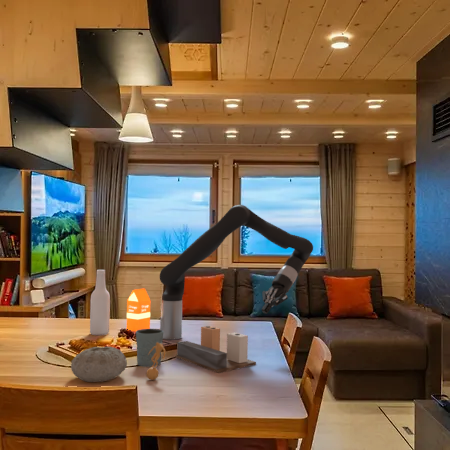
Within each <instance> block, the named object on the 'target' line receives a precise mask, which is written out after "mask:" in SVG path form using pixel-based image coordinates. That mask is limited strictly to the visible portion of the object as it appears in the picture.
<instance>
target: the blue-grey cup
mask: <svg viewBox="0 0 450 450" xmlns="http://www.w3.org/2000/svg"><path fill="white" fill-rule="evenodd" d="M135 339H136V353H137V355H136V361H137V365H138V366H140V367H144V368H145V367H147V368H150V367H152V365H153V364H154V363H153V362H152V360H151V358H152V357H153V356H154V353H156V348H154V349H153V350H152V351H151V352H150V350H151V349H152V348H153V347H154V346H156V343H157V342H158V343H160V344H163V340H164V339H163V330H160V329H159V328H150V329H140V330H137V331H136V332H135ZM149 352H150V353H149ZM148 354H149V355H148ZM154 361H155V359H154ZM157 362H158V365H157V367H158V366H160V365H161V363H162V351H161V352H160V357H159V359H158V360H157ZM155 366H156V362H155V365H154V367H155Z"/></svg>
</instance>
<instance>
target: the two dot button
mask: <svg viewBox="0 0 450 450" xmlns="http://www.w3.org/2000/svg"><path fill="white" fill-rule="evenodd" d="M220 344H221V328H219V327H215V326H211V325H206V326H201V327H200V345H202V346H205V347H208V348H212V349H215V350H218V351H221V349H220V348H221V345H220Z"/></svg>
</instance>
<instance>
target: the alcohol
mask: <svg viewBox="0 0 450 450" xmlns="http://www.w3.org/2000/svg"><path fill="white" fill-rule="evenodd" d="M89 309H90V311H89V312H90V314H89V315H90V316H89V317H90V319H89V334H90V335H92V336H106V335H108V334H109V332H110V317H111V315H110V313H111V312H110V311H111V310H110V309H111V296H110V292H109V291H108V290H107V287H106V269H97V270H96V279H95V288H94V290H93V291H92V293H91V295H90V308H89Z"/></svg>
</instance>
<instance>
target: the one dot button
mask: <svg viewBox="0 0 450 450" xmlns="http://www.w3.org/2000/svg"><path fill="white" fill-rule="evenodd" d="M248 338H249V336H248V335H246V334H243V333H239V332H231V333H226V353H227V359H228V360H231V361H234V362H237V363H243V362H247V359H248V355H249V354H248V352H249V351H248V349H249V347H248V345H249V343H248V342H249V341H248V340H249V339H248Z"/></svg>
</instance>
